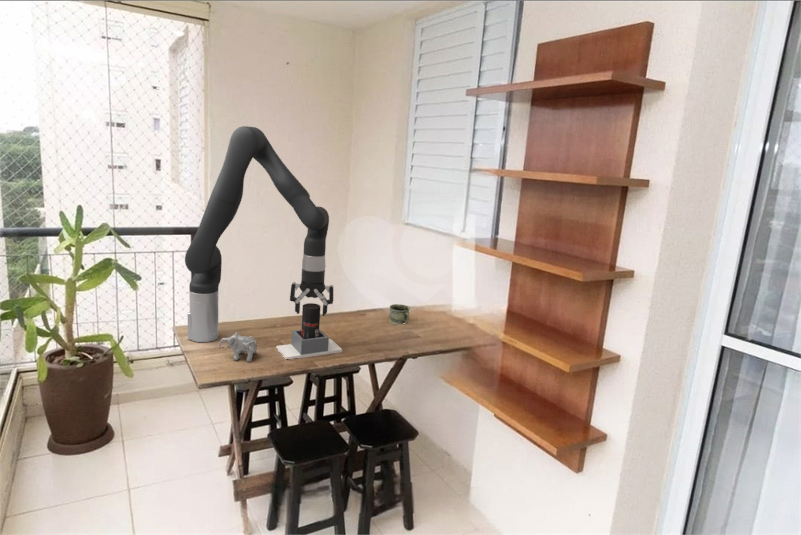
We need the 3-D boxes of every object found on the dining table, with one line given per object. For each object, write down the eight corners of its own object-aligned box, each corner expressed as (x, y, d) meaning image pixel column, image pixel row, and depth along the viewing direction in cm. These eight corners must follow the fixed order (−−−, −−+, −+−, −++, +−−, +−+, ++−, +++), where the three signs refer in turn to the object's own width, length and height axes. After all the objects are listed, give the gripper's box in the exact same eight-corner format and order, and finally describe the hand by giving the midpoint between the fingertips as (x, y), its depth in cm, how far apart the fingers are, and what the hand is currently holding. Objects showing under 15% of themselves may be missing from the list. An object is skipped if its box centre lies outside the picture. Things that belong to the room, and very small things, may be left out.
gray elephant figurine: (258, 363, 161) (260, 340, 159) (218, 364, 156) (219, 340, 155) (255, 351, 169) (257, 330, 167) (217, 352, 164) (218, 330, 163)
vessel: (415, 324, 208) (417, 309, 207) (399, 327, 202) (401, 313, 201) (397, 315, 217) (398, 301, 215) (381, 318, 211) (382, 304, 210)
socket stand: (285, 360, 164) (286, 343, 162) (276, 348, 172) (276, 332, 170) (342, 352, 174) (343, 335, 172) (330, 341, 182) (331, 325, 181)
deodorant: (314, 352, 169) (316, 309, 166) (297, 349, 170) (299, 307, 167) (320, 345, 175) (323, 304, 171) (304, 343, 176) (306, 302, 173)
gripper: (290, 268, 162) (288, 316, 166) (334, 272, 163) (331, 319, 167) (293, 263, 169) (291, 309, 173) (335, 266, 170) (332, 312, 174)
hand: (311, 314), depth 170 cm, fingers open, 8 cm apart
